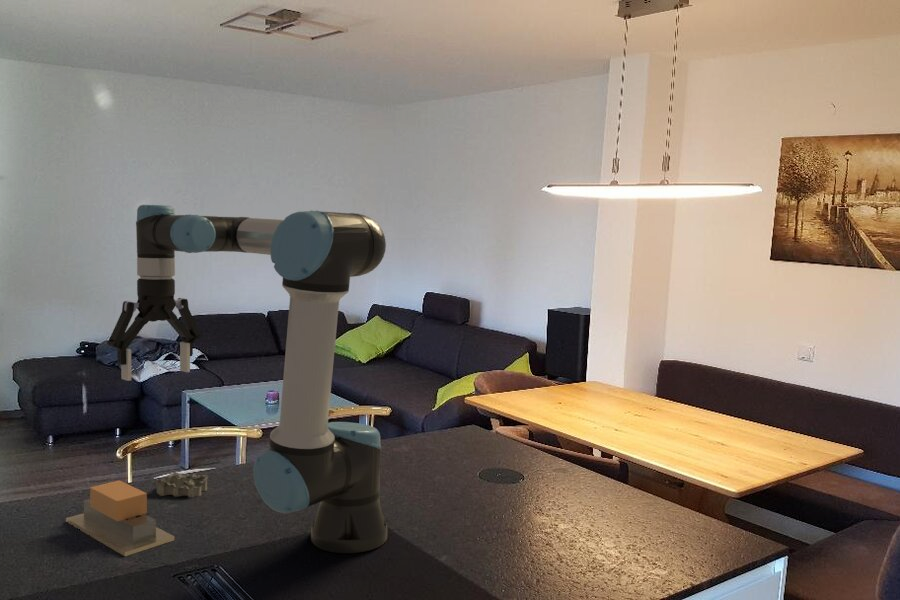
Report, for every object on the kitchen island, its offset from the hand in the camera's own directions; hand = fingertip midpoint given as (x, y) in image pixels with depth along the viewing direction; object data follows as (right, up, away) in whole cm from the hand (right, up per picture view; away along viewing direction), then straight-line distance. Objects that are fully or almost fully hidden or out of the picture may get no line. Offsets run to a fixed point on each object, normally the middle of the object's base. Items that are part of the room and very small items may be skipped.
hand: (156, 375), depth 162 cm
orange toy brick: (-3, -29, -12) cm, 31 cm away
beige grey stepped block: (-3, -30, -12) cm, 32 cm away
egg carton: (+2, -28, +11) cm, 30 cm away
